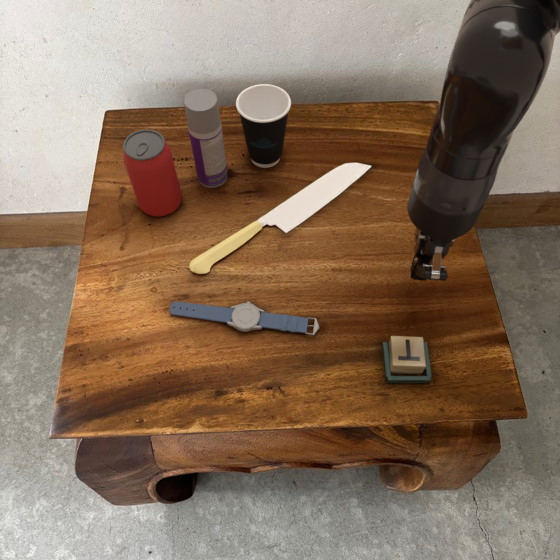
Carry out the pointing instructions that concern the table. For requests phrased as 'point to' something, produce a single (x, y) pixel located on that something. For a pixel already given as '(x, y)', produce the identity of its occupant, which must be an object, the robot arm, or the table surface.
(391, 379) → the frame
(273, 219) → the knife
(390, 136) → the table surface
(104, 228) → the table surface
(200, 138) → the container
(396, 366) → the letter tile
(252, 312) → the wristwatch
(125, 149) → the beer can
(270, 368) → the table surface
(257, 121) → the dixie cup
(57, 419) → the table surface
